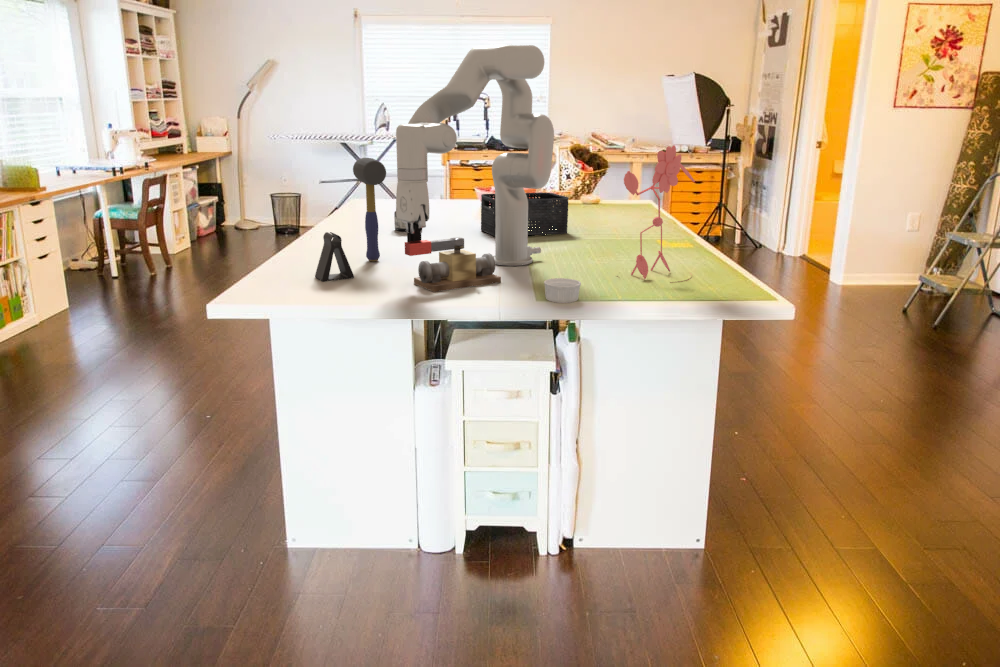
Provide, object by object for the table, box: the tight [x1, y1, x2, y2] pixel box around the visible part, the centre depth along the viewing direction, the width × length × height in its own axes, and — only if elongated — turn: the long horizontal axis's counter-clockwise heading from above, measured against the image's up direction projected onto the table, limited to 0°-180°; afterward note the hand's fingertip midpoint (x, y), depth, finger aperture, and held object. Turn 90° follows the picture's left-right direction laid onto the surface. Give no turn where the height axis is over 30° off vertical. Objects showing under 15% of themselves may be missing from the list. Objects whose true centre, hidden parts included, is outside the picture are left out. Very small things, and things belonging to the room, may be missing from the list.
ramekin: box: [543, 277, 582, 304], centre depth 187 cm, size 9×9×4 cm
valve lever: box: [404, 237, 465, 257], centre depth 196 cm, size 16×4×3 cm, turn 125°
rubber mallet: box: [352, 157, 387, 262], centre depth 225 cm, size 12×8×30 cm, turn 25°
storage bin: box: [480, 192, 569, 237], centre depth 279 cm, size 29×19×13 cm
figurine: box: [615, 145, 696, 284], centre depth 206 cm, size 15×26×35 cm, turn 133°
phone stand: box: [314, 231, 355, 283], centre depth 206 cm, size 9×6×12 cm, turn 120°
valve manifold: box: [413, 249, 502, 293], centre depth 201 cm, size 20×11×9 cm, turn 123°
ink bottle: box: [393, 210, 418, 232], centre depth 282 cm, size 10×9×12 cm
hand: (414, 248), depth 197 cm, fingers closed
